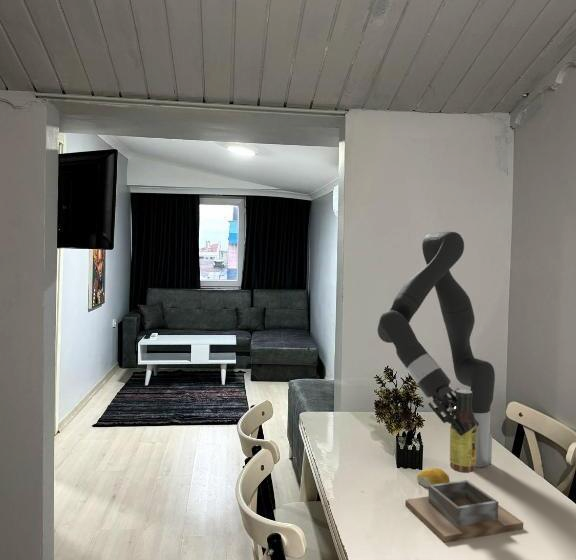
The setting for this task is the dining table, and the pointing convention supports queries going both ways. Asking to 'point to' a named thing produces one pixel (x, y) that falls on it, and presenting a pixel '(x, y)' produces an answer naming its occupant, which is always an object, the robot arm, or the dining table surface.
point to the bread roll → (432, 477)
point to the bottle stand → (461, 512)
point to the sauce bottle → (465, 444)
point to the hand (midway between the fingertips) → (470, 430)
